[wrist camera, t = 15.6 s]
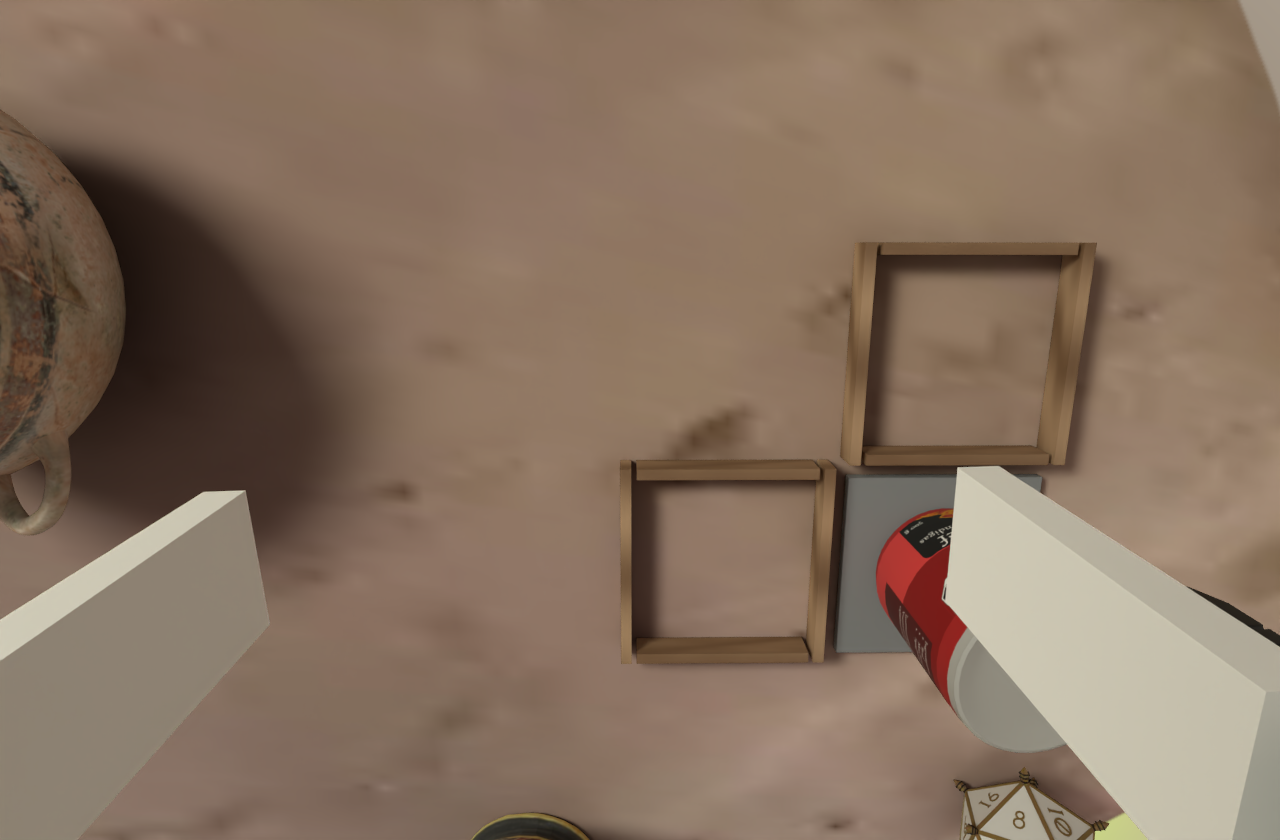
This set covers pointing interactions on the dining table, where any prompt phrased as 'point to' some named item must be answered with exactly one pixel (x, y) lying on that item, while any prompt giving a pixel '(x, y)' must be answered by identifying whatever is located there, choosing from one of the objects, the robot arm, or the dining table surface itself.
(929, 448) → the empty crate
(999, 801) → the game die
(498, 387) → the dining table surface
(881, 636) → the slate board
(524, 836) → the amphora
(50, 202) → the cooking pot
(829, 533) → the frame
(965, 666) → the canned food
